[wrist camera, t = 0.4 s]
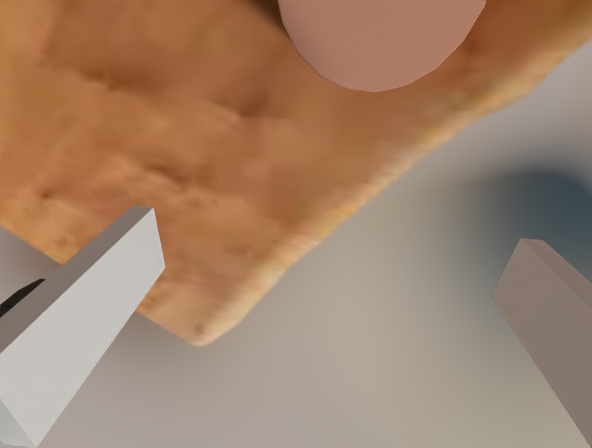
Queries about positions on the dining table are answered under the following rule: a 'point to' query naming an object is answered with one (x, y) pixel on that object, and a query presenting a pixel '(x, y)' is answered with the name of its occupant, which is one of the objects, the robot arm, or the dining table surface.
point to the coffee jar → (377, 37)
